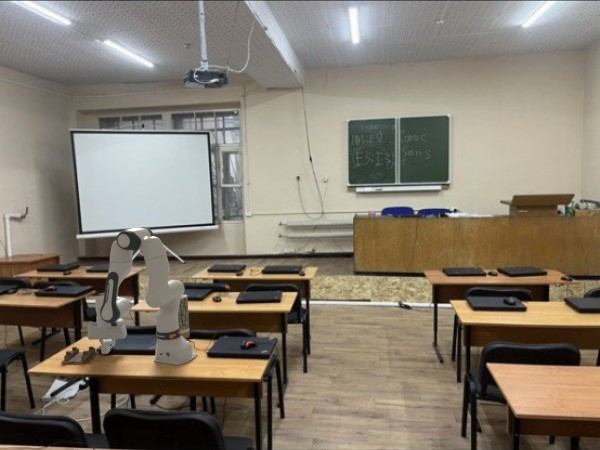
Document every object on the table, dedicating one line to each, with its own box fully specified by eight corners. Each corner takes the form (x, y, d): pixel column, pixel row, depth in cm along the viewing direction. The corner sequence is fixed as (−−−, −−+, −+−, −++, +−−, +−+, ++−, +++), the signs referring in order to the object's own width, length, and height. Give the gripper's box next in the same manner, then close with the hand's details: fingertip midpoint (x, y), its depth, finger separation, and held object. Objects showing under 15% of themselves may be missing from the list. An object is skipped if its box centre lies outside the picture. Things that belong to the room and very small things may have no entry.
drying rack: (98, 353, 219) (98, 344, 219) (86, 363, 207) (85, 353, 207) (75, 354, 220) (74, 344, 219) (61, 363, 208) (60, 354, 207)
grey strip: (109, 345, 228) (108, 337, 227) (115, 344, 228) (114, 337, 228) (101, 354, 216) (100, 346, 216) (107, 353, 216) (106, 345, 216)
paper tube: (187, 339, 236) (185, 297, 234) (176, 339, 236) (173, 297, 234) (191, 335, 243) (188, 294, 240) (179, 335, 243) (177, 294, 241)
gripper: (83, 324, 218) (86, 349, 219) (121, 323, 217) (123, 348, 219) (90, 320, 224) (92, 344, 225) (126, 319, 223) (129, 343, 225)
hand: (108, 346), depth 222 cm, fingers closed on grey strip, 3 cm apart
